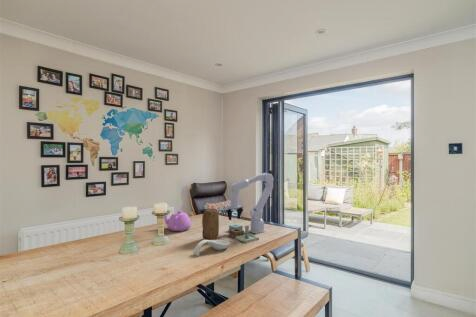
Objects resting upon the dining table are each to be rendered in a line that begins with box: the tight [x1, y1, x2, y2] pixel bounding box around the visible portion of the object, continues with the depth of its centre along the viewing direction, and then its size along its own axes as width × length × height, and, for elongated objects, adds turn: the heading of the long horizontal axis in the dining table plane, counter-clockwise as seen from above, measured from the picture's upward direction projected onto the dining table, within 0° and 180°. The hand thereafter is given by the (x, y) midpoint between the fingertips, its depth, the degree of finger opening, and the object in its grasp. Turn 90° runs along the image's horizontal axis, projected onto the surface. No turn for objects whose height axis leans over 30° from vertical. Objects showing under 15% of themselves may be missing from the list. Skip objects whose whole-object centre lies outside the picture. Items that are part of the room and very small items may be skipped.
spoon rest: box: [192, 239, 231, 257], centre depth 155 cm, size 24×12×7 cm, turn 136°
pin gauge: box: [244, 225, 250, 239], centre depth 178 cm, size 2×2×8 cm
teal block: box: [228, 223, 243, 231], centre depth 196 cm, size 7×7×4 cm
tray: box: [235, 233, 260, 244], centre depth 178 cm, size 12×9×2 cm
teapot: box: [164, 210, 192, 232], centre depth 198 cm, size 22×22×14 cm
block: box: [201, 208, 220, 240], centre depth 174 cm, size 11×8×20 cm
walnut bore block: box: [228, 228, 245, 239], centre depth 184 cm, size 7×7×4 cm
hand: (234, 219), depth 191 cm, fingers open, 7 cm apart
